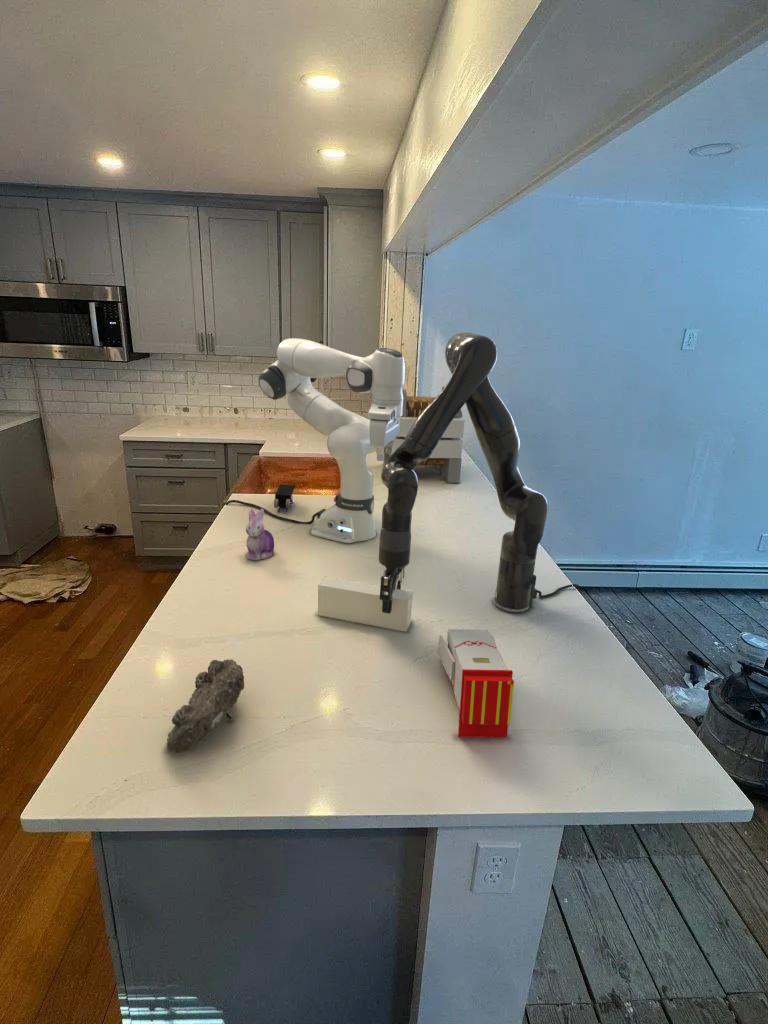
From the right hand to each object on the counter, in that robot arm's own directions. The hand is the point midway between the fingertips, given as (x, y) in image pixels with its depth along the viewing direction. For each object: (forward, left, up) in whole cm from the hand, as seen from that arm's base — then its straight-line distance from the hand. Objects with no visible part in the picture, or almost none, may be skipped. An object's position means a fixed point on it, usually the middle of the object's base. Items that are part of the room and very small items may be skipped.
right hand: (391, 604), depth 141 cm
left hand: (-9, -34, +29) cm, 45 cm away
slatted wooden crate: (-63, -126, -6) cm, 141 cm away
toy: (-6, +30, -6) cm, 31 cm away
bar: (+6, -4, -6) cm, 9 cm away
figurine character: (+9, -92, -6) cm, 92 cm away
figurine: (+25, -50, -6) cm, 56 cm away
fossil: (+45, +22, -6) cm, 50 cm away
